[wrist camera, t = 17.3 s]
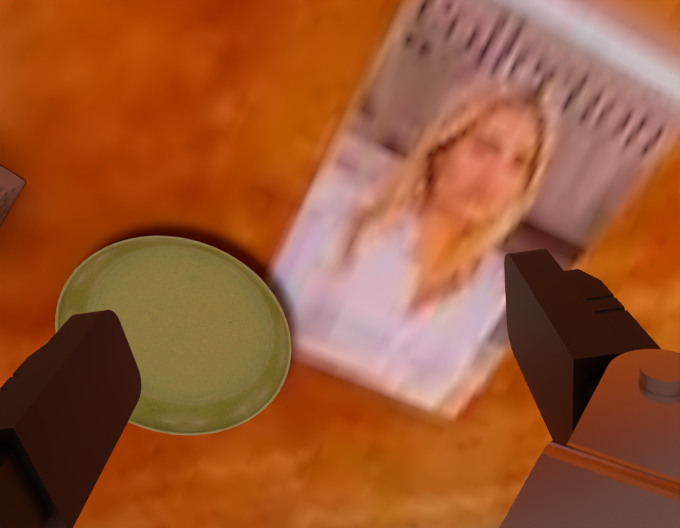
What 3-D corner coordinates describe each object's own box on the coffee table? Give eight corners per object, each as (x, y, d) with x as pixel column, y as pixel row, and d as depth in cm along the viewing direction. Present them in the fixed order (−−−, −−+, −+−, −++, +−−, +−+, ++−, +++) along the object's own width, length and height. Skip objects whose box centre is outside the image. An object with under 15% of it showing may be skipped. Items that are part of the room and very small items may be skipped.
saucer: (297, 414, 57) (294, 436, 54) (94, 411, 57) (80, 434, 54) (290, 223, 48) (286, 238, 45) (48, 221, 48) (29, 235, 45)
